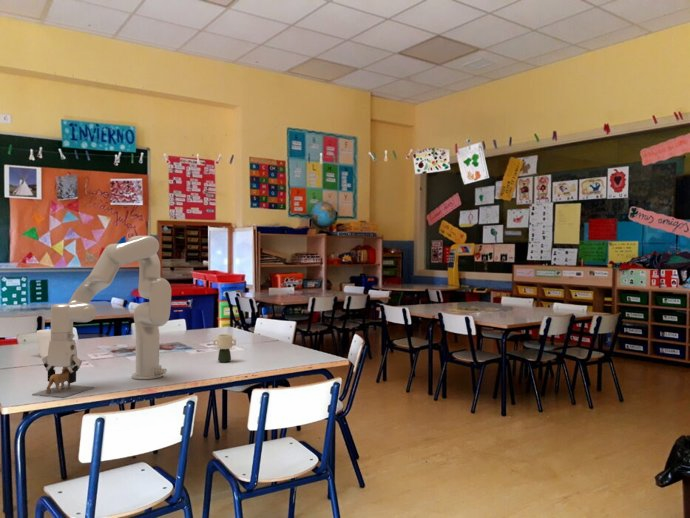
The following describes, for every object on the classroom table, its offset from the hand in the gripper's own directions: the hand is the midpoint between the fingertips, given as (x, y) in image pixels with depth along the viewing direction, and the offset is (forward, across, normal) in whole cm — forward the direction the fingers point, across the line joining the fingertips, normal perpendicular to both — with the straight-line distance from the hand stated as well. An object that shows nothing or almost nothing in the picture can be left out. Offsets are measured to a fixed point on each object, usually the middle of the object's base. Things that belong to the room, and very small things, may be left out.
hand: (61, 381), depth 214 cm
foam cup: (+4, +60, -57) cm, 83 cm away
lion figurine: (+3, +1, 0) cm, 4 cm away
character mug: (+4, -32, -70) cm, 77 cm away
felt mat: (+4, -1, 0) cm, 4 cm away
